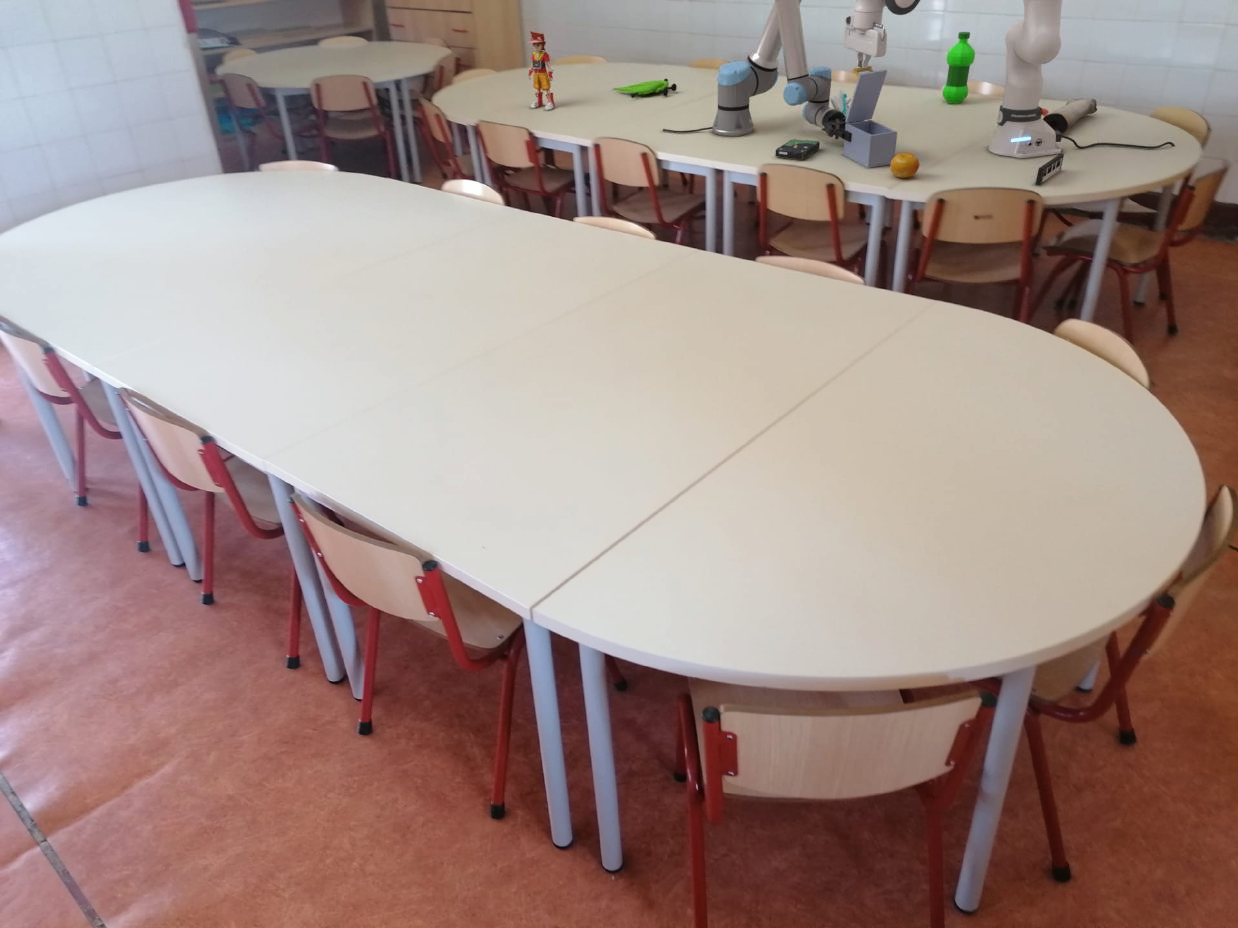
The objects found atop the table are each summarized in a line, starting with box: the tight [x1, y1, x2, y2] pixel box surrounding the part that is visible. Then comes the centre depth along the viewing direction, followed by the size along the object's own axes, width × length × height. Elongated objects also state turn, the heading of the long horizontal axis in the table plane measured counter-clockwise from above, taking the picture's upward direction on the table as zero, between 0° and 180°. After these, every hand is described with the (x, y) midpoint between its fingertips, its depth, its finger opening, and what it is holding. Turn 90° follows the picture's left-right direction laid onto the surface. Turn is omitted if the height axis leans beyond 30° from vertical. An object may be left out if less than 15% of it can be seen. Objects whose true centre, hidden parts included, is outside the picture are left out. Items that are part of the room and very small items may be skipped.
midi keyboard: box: [1035, 153, 1065, 186], centre depth 273 cm, size 18×1×5 cm, turn 138°
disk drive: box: [774, 138, 821, 161], centre depth 308 cm, size 10×3×15 cm
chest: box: [842, 119, 898, 169], centre depth 297 cm, size 17×9×10 cm, turn 16°
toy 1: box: [527, 31, 556, 111], centre depth 374 cm, size 12×9×30 cm
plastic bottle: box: [942, 31, 976, 104], centre depth 348 cm, size 10×10×25 cm
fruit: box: [889, 152, 920, 179], centre depth 281 cm, size 8×8×8 cm
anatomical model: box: [830, 89, 852, 118], centre depth 343 cm, size 15×10×10 cm
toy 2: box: [612, 78, 677, 99], centre depth 396 cm, size 28×5×30 cm
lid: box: [845, 65, 888, 123], centre depth 295 cm, size 18×9×8 cm
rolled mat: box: [1042, 97, 1098, 135], centre depth 320 cm, size 30×9×10 cm
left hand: (864, 135), depth 299 cm, fingers closed on chest, 9 cm apart
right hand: (862, 67), depth 291 cm, fingers closed, pressing on lid
